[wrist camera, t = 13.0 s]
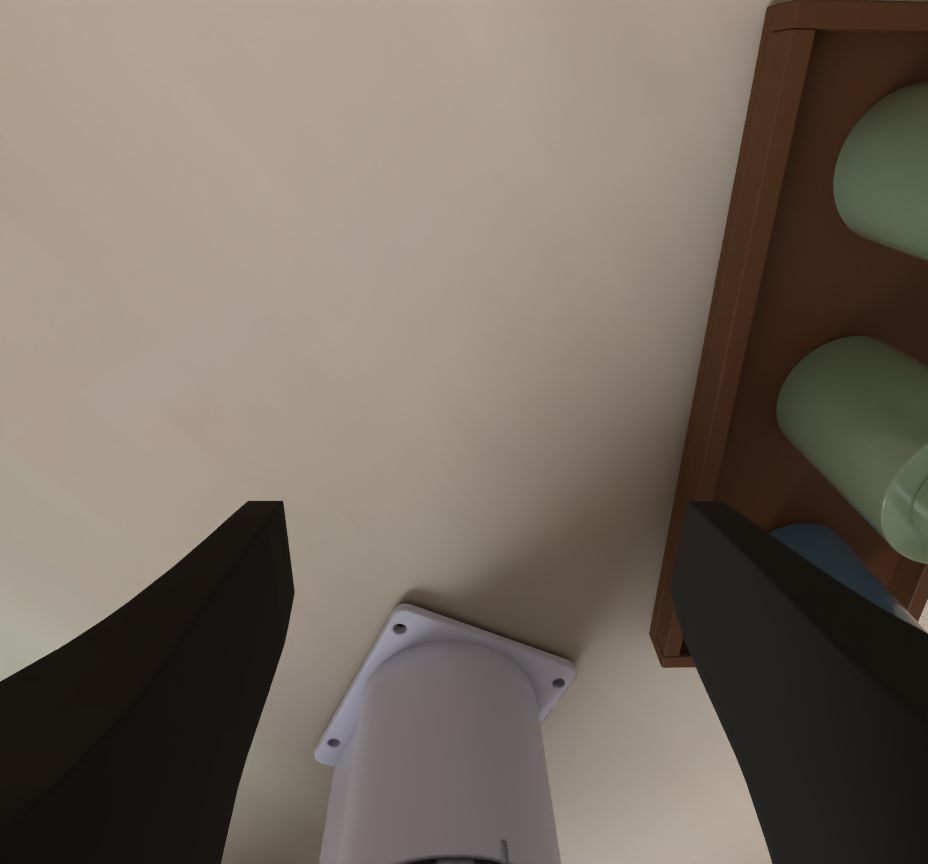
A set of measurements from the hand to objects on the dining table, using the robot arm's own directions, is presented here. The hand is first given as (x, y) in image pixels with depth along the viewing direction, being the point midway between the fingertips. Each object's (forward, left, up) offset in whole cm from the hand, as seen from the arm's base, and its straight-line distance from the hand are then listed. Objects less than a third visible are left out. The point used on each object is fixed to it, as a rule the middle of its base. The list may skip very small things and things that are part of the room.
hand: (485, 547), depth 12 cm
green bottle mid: (+4, -12, -10) cm, 16 cm away
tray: (+4, -12, -10) cm, 16 cm away
